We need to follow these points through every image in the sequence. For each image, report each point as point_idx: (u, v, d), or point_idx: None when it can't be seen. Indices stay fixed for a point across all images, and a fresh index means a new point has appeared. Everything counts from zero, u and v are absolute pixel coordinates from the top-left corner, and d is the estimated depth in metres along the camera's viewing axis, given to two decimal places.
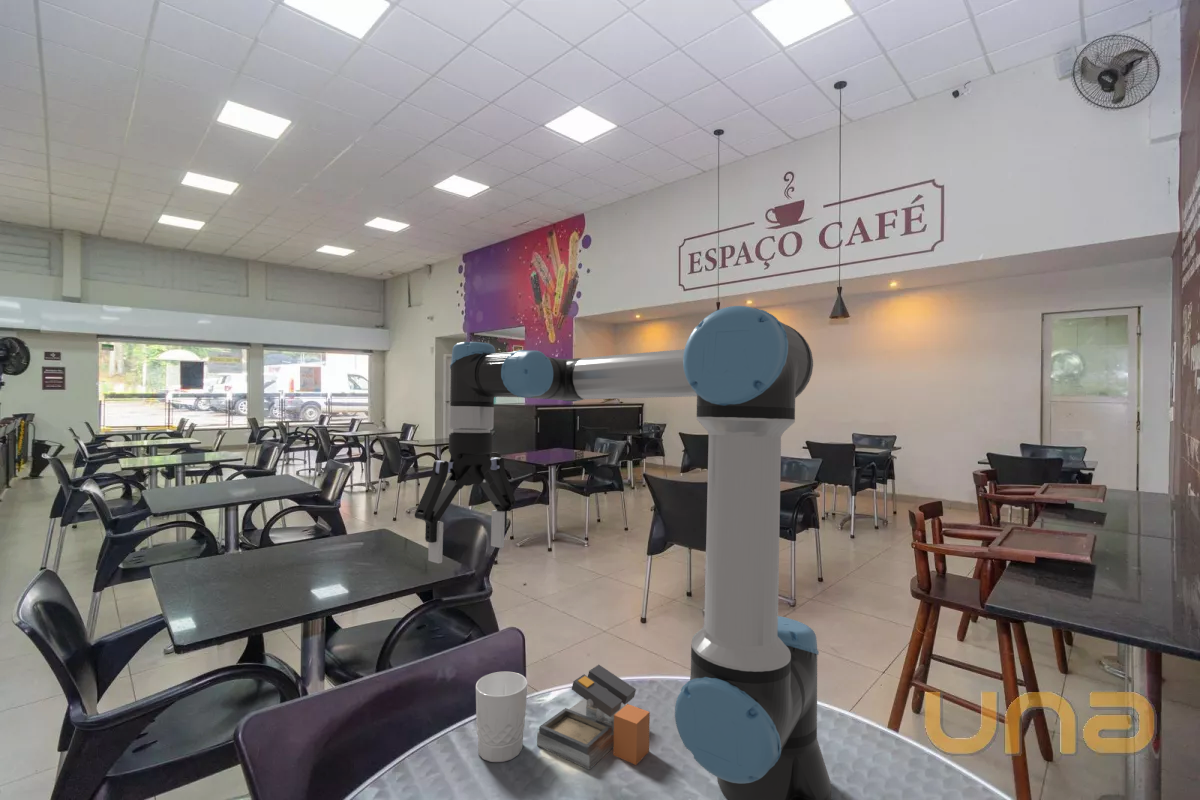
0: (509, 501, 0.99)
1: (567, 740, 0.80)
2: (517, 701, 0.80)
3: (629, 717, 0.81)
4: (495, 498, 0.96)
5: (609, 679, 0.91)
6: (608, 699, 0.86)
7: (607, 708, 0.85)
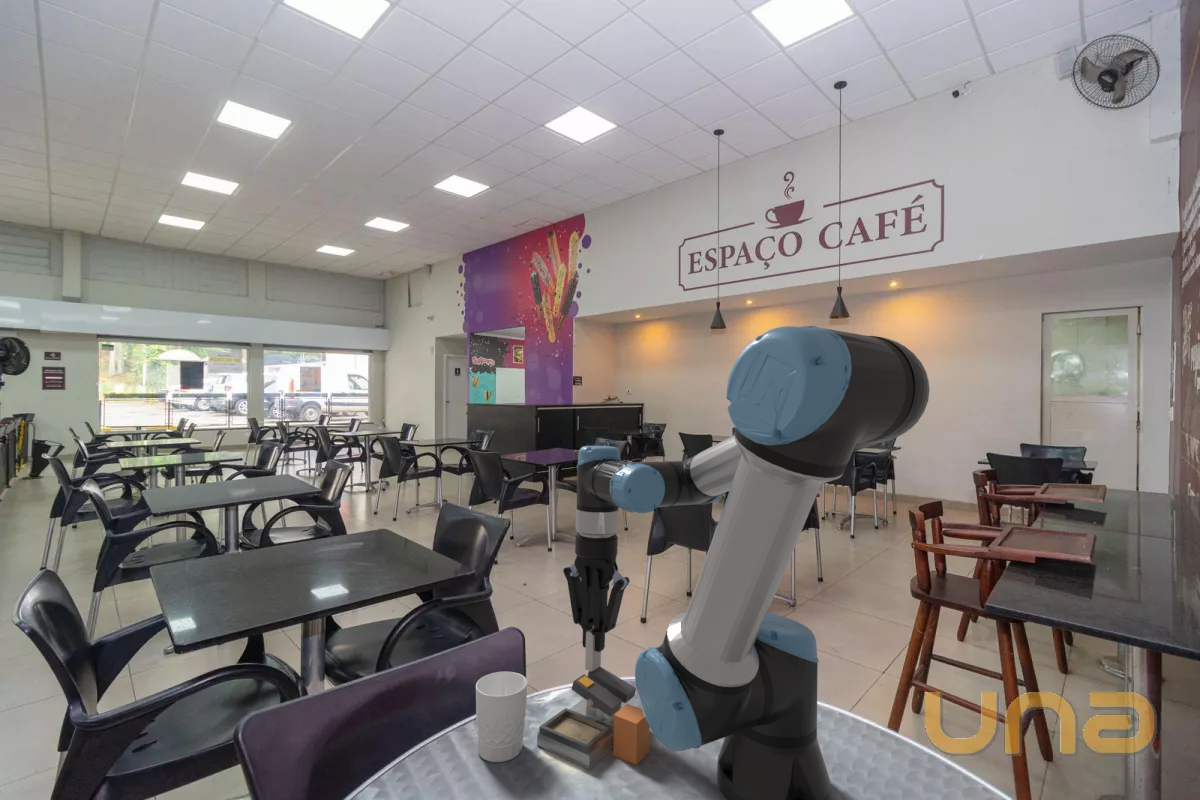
0: None
1: (567, 740, 0.80)
2: (517, 701, 0.80)
3: (630, 717, 0.81)
4: None
5: (609, 679, 0.91)
6: (608, 699, 0.86)
7: (607, 708, 0.85)
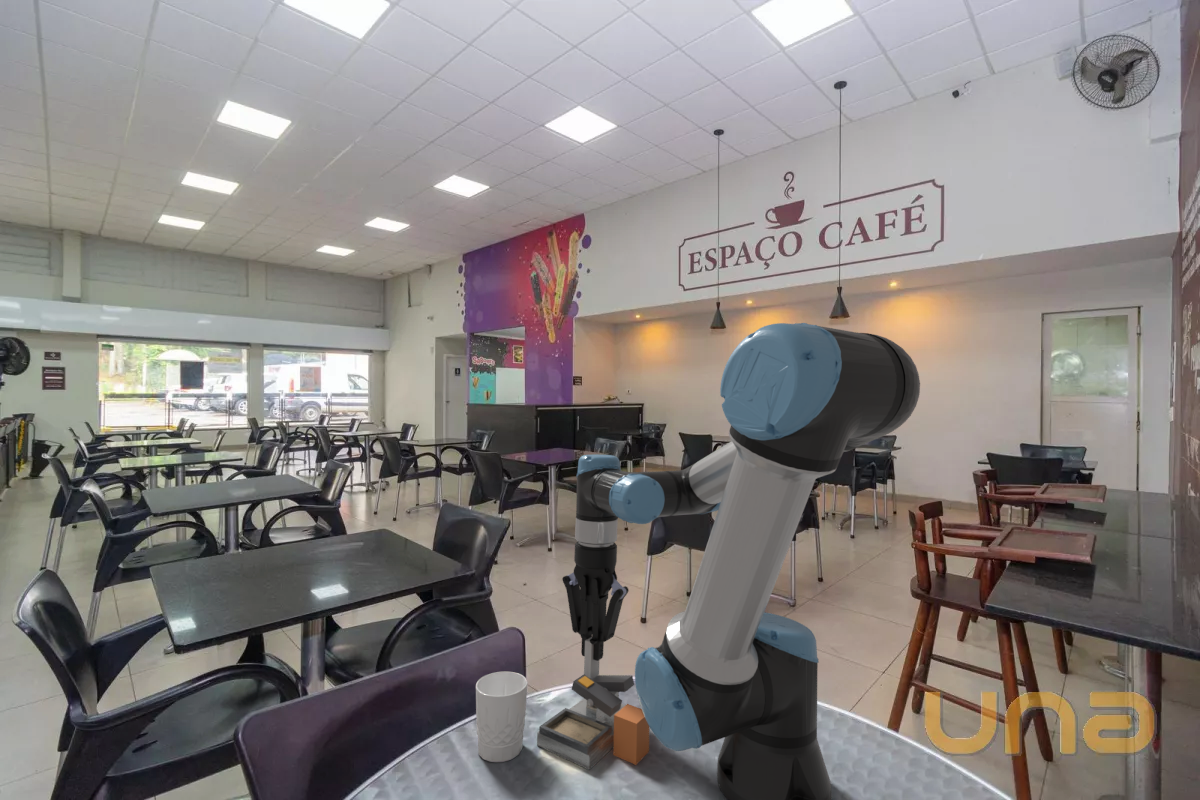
0: None
1: (567, 740, 0.80)
2: (517, 701, 0.80)
3: (630, 717, 0.81)
4: None
5: (605, 679, 0.92)
6: (608, 699, 0.86)
7: (607, 708, 0.85)
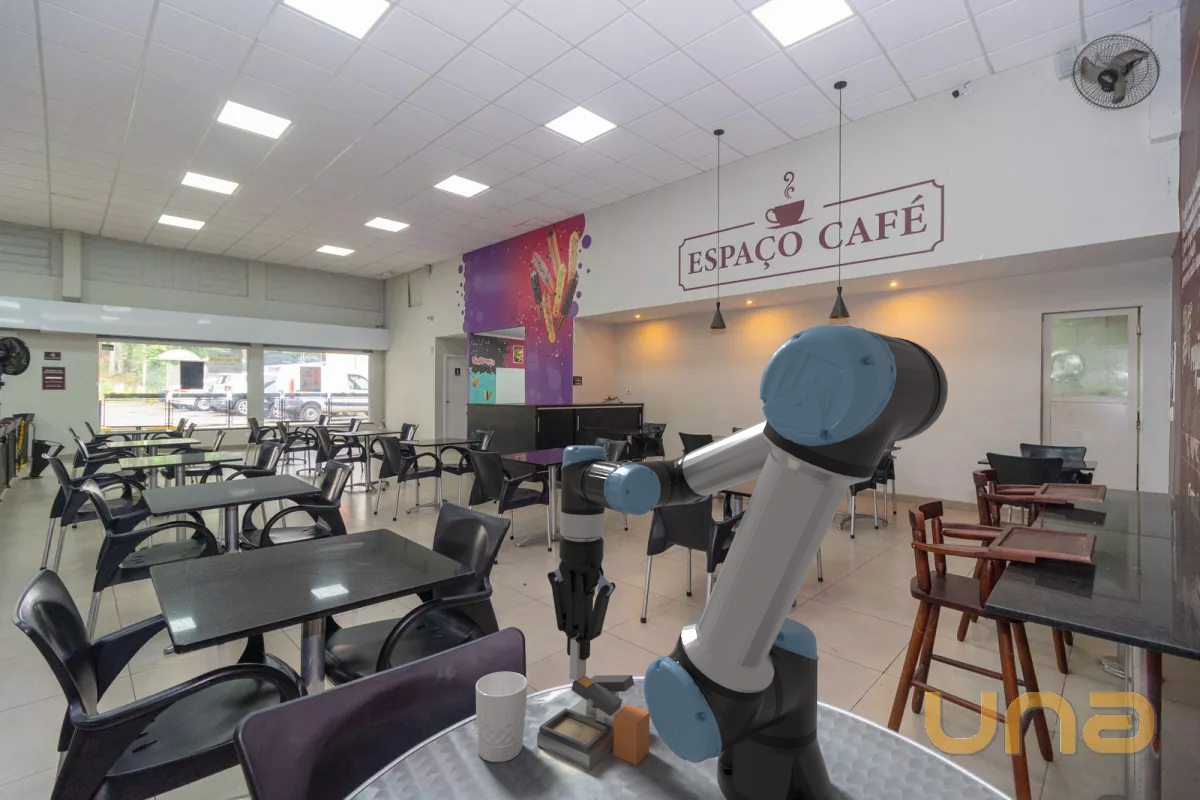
0: None
1: (567, 740, 0.80)
2: (517, 701, 0.80)
3: (629, 717, 0.81)
4: None
5: (605, 679, 0.92)
6: (608, 699, 0.86)
7: (607, 708, 0.85)
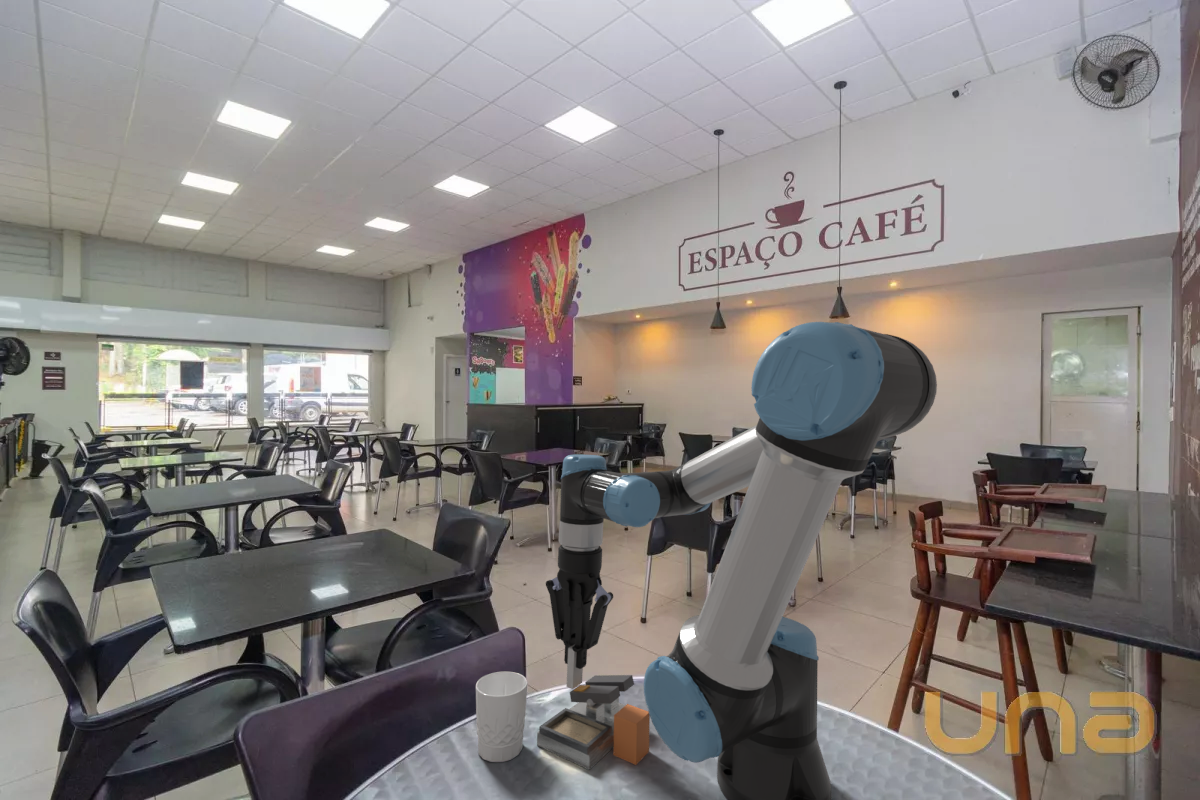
0: None
1: (567, 740, 0.80)
2: (517, 701, 0.80)
3: (630, 718, 0.81)
4: None
5: (605, 679, 0.92)
6: (604, 690, 0.86)
7: (605, 697, 0.85)
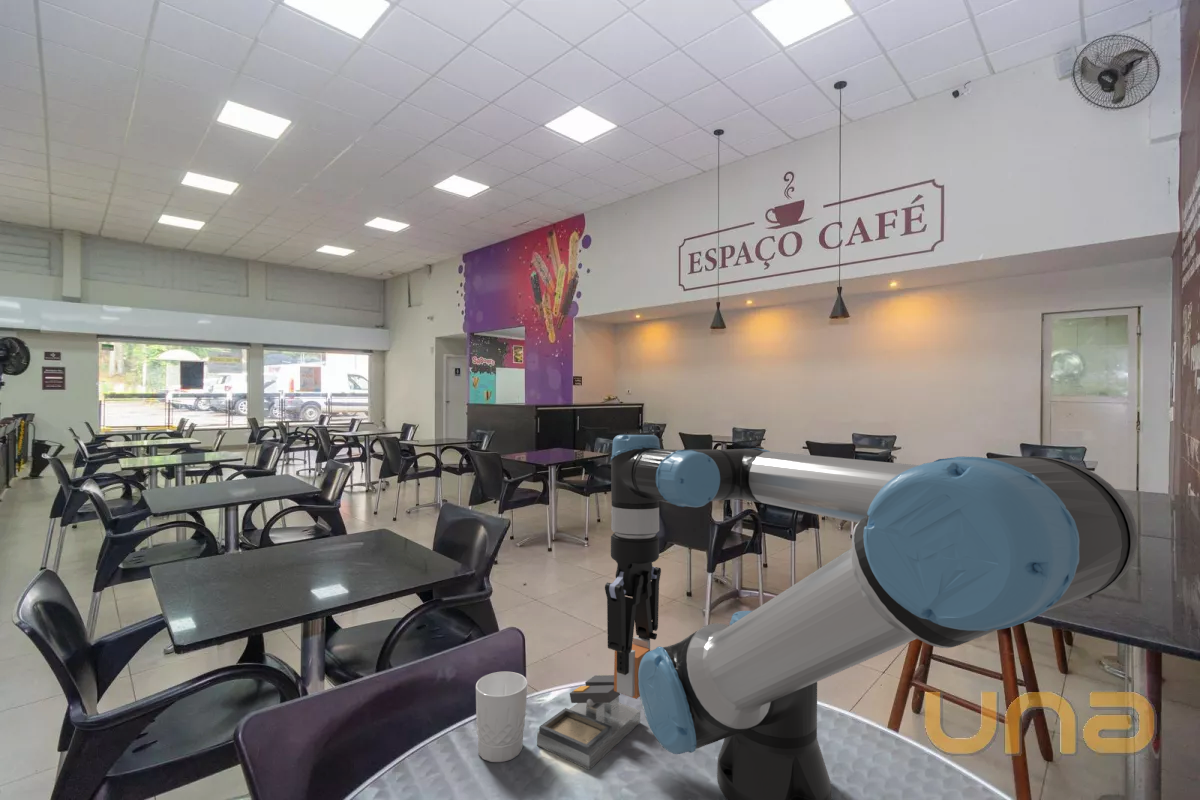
0: (653, 623, 0.85)
1: (567, 740, 0.80)
2: (517, 701, 0.80)
3: None
4: (644, 618, 0.83)
5: (605, 679, 0.92)
6: (604, 689, 0.86)
7: (604, 696, 0.85)
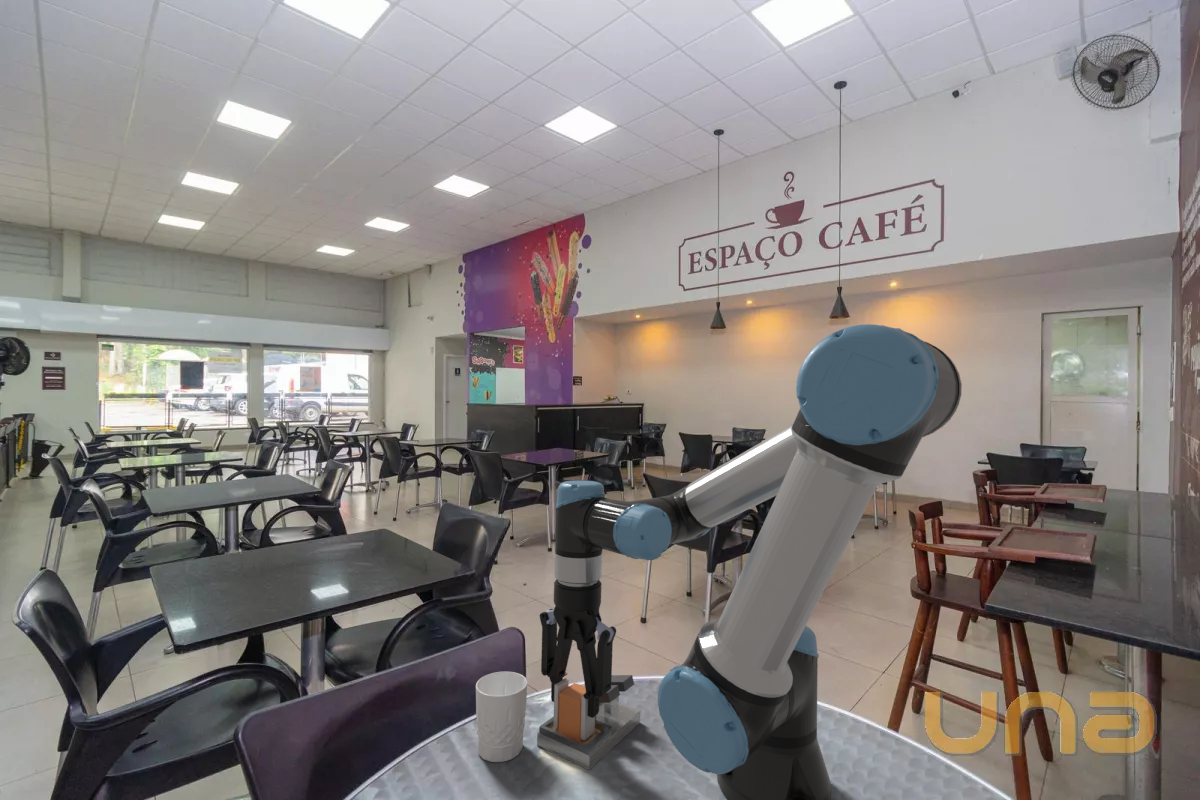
0: None
1: (567, 740, 0.80)
2: (517, 701, 0.80)
3: (569, 690, 0.84)
4: None
5: None
6: None
7: (604, 696, 0.85)
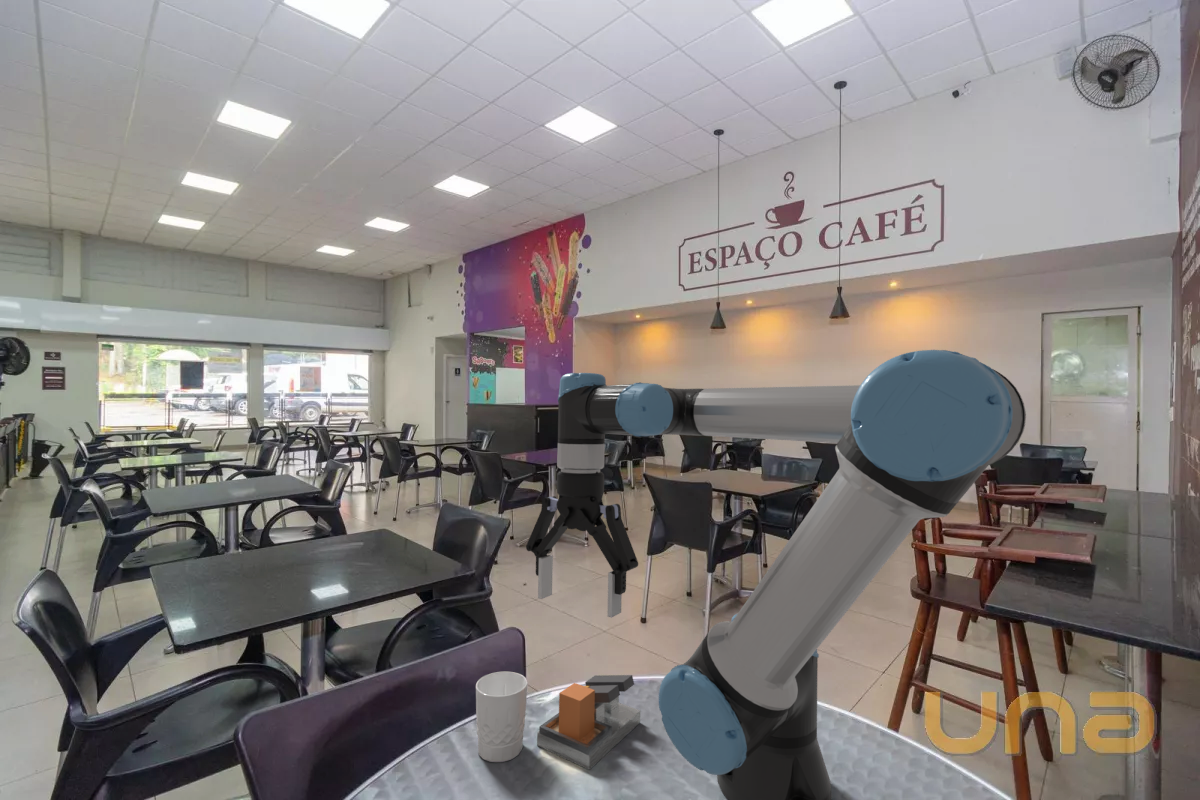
0: None
1: (567, 740, 0.80)
2: (517, 701, 0.80)
3: (569, 690, 0.84)
4: None
5: (605, 679, 0.92)
6: (604, 689, 0.86)
7: (604, 696, 0.85)
